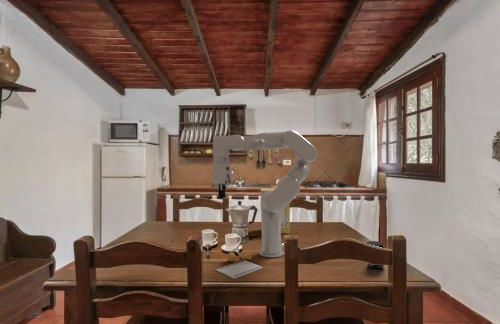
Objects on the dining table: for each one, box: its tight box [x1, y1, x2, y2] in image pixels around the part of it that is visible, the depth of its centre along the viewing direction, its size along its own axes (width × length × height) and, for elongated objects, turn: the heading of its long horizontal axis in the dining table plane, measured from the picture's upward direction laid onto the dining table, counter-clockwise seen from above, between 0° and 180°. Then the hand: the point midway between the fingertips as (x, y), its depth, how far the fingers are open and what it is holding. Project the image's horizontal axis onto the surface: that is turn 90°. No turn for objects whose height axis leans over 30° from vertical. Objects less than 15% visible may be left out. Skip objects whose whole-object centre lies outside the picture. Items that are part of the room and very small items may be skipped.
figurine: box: [226, 252, 253, 262], centre depth 133 cm, size 8×6×12 cm
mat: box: [216, 259, 264, 280], centre depth 122 cm, size 16×12×1 cm
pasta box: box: [260, 188, 291, 234], centre depth 188 cm, size 18×10×28 cm, turn 88°
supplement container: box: [366, 240, 385, 270], centre depth 122 cm, size 7×7×10 cm
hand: (222, 197), depth 139 cm, fingers closed
